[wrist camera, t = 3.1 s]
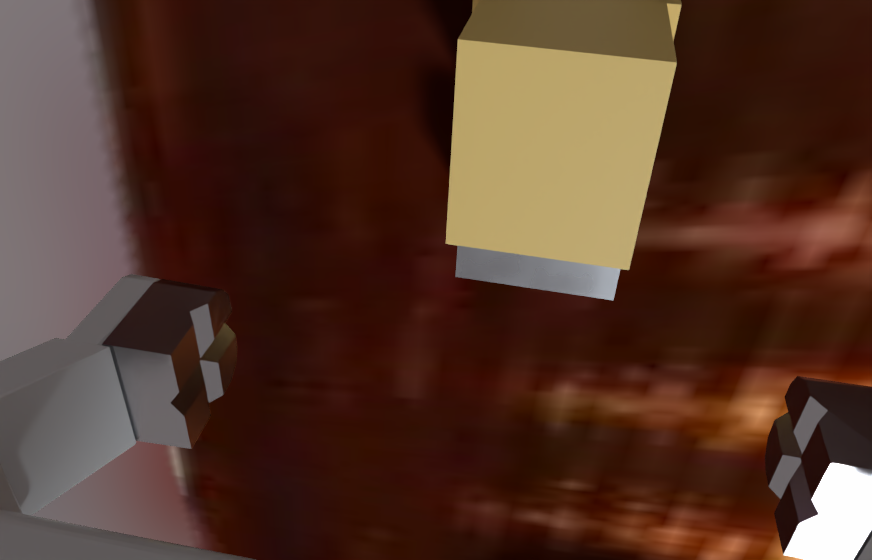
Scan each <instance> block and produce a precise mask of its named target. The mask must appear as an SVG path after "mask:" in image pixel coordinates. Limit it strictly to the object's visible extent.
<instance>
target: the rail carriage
mask: <svg viewBox="0 0 872 560" xmlns="http://www.w3.org/2000/svg"><path fill="white" fill-rule="evenodd" d="M681 5H682V4H681V0H473V5H472V15H471V17H470V18H469V20H468V22H467V24H466V25H465V27H464V29H463V31H462V33H461V34H460V36H459V38H458V44H457V61H456V78H455V95H454V112H453V129H452V146H451V163H450V180H449V198H448V215H447V232H446V244H451V245H458V246H465V247H472V248H479V249H486V250H493V251H500V252H507V253H514V254H520V255H527V256H534V257H541V258H548V259H555V260H562V261H569V262H576V263H583V264H590V265H597V266H604V267H610V268H617V269H624V270H629V268H630V263H631V259H632V255H633V250H634V246H635V242H636V237H637V233H638V229H639V224H640V220H641V216H642V211H643V207H644V203H645V198H646V194H647V190H648V185H649V181H650V177H651V172H652V168H653V164H654V159H655V155H656V151H657V147H658V142H659V138H660V134H661V129H662V125H663V121H664V116H665V112H666V108H667V103H668V99H669V95H670V90H671V86H672V82H673V77H674V73H675V69H676V64H677V60H676V54H675V48H674V43H673V41H674V36H675V32H676V27H677V23H678V18H679V14H680V10H681Z"/></svg>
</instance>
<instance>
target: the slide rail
mask: <svg viewBox="0 0 872 560" xmlns="http://www.w3.org/2000/svg"><path fill="white" fill-rule="evenodd" d="M619 273H620V269H617V268H610V267H604V266H597V265H590V264H583V263H576V262H569V261H562V260H555V259H548V258H541V257H534V256H527V255H520V254H514V253H507V252H500V251H493V250H486V249H479V248H472V247H465V246H458V249H457V263H456V277H461V278H468V279H474V280H481V281H488V282H494V283H501V284H508V285H514V286H521V287H528V288H534V289H541V290H548V291H554V292H561V293H568V294H574V295H581V296H587V297H594V298H601V299H607V300H614V296H615V291H616V287H617V282H618V278H619Z"/></svg>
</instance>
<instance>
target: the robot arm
mask: <svg viewBox="0 0 872 560" xmlns="http://www.w3.org/2000/svg"><path fill="white" fill-rule="evenodd" d="M231 313H232V309H231V304H230V299H229V294H228V293H226V292H225V291H224V290H222V289H217V288H211V287H205V286H200V285H194V284H188V283H182V282H177V281H171V280H165V279H161V280H160V279H157V278H151V277H145V276H139V275H133V274H131V275H128V276H125V277H122V278H121V279H120V280H119V281H118V282H117V283H116V284H115V286H114V287H113V288H112V289H111V290H110V291H109V292H108V293H107V294H106V295H105V297H104V298H103V299H102V300H101V301H100V302H99V303H98V304H97V305H96V307H95V308H94V309H93V310H92V311H91V312H90V313H89V314H88V315H87V316H86V318H85V319H84V320H83V321H82V322H81V323H80V324H79V325H78V326H77V327H76V328H75V329H74V330H73V332H72V333H71V334H70V335H69V336H68V337H67V338H66V339H59V338H54V339H52V340H50V341H47V342H45V343H43V344H41V345H38V346H36V347H33V348H31V349H28V350H26V351H24V352H21V353H19V354H17V355H14V356H12V357H9V358H7V359H5V360H2V361H0V560H255V559H250V558H245V557H240V556H235V555H230V554H225V553H220V552H215V551H210V550H204V549H199V548H194V547H189V546H184V545H179V544H173V543H169V542H164V541H158V540H153V539H148V538H143V537H138V536H133V535H128V534H122V533H118V532H113V531H108V530H102V529H97V528H92V527H87V526H82V525H77V524H72V523H67V522H62V521H57V520H52V519H46V518H41V517H36V516H31V515H33V514H34V513H36V512H37V511H39V510H40V509H42V508H43V507H45V506H46V505H47V504H49V503H50V502H52V501H53V500H55V499H56V498H58V497H59V496H61V495H62V494H63V493H65V492H66V491H68V490H69V489H71V488H72V487H74V486H75V485H76V484H78V483H79V482H81V481H82V480H84V479H85V478H87V477H88V476H90V475H91V474H93V473H94V472H96V471H97V470H98V469H100V468H101V467H103V466H104V465H106V464H107V463H109V462H110V461H111V460H113V459H114V458H116V457H117V456H119V455H120V454H122V453H123V452H125V451H126V450H128V449H129V448H130V447H132V446H133V445H135V444H136V441H143V442H149V443H156V444H163V445H169V446H176V447H183V448H189V449H191V448H192V447H193V445H194V443H195V442H196V440H197V438H198V437H199V435H200V433H201V432H202V430H203V428H204V427H205V425H206V423H207V422H208V420H209V418H210V417H211V414H210V408H209V402H211V401H213V400H215V399H216V398H218V397H220V396H222V395H224V393H225V391H226V389H227V387H228V386H229V384H230V382H231V380H232V376H233V373H234V369H235V366H236V361H237V343H236V335H235V334H234V333H233V332H232V330H231V329H230V328H229V327H228V326H227V325H226V324H225V322H226V321H227V319H228V317H229V316H230V314H231ZM785 400H786V404H787V408H788V413H786V414H784V415H783V416H781V417H779V418H778V419H776V420H775V421H774V423H773V426H772V428H771V431H770V434H769V436H768V441H767V447H766V454H765V465H766V475H767V480H768V486H769V487H770V488H771V489H772V490H773V491H774V493H775V494H776V495H777V496H778V497H779V498H780V499H781V500H780V502H779V504H778V506H777V508H776V511H775V513H774V514H775V519H776V523H777V528H778V532H779V537H780V541H781V546H782V551H783V555H787V556H792V557H796V558H801V559H806V560H872V387H869V386H862V385H855V384H848V383H842V382H835V381H828V380H821V379H814V378H807V377H800V376H797V377H796V378H795V379H794V381H793V382H792V383H791V384H790V386H789V389H788V391H787V393H786V395H785Z"/></svg>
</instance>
